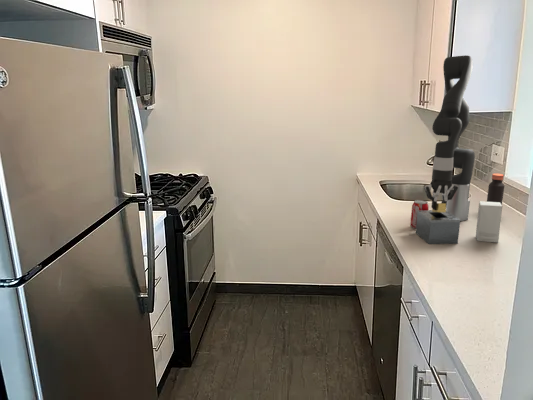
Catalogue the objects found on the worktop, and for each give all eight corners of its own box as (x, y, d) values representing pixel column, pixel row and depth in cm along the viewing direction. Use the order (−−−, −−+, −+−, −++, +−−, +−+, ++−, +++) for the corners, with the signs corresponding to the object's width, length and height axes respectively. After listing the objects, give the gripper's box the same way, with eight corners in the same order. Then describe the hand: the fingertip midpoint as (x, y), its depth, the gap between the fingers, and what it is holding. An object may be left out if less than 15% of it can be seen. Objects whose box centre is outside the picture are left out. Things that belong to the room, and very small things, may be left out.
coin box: (442, 232, 199) (445, 210, 197) (457, 243, 186) (460, 219, 183) (415, 232, 199) (417, 210, 196) (428, 244, 185) (430, 220, 183)
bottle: (485, 215, 224) (490, 175, 219) (484, 212, 230) (489, 172, 225) (500, 217, 221) (506, 176, 216) (499, 213, 227) (505, 173, 222)
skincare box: (496, 238, 192) (501, 202, 188) (498, 243, 186) (503, 206, 182) (474, 236, 195) (478, 200, 191) (475, 241, 189) (480, 204, 185)
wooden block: (439, 211, 192) (439, 203, 192) (445, 212, 186) (445, 203, 186) (432, 211, 192) (432, 203, 192) (438, 212, 186) (438, 203, 186)
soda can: (427, 230, 202) (430, 204, 199) (411, 229, 203) (413, 203, 200) (425, 225, 208) (428, 200, 205) (409, 224, 210) (411, 199, 207)
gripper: (455, 166, 189) (451, 207, 193) (422, 166, 188) (418, 207, 192) (464, 169, 182) (459, 212, 186) (429, 169, 181) (425, 212, 185)
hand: (438, 209), depth 189 cm, fingers closed on wooden block, 3 cm apart
